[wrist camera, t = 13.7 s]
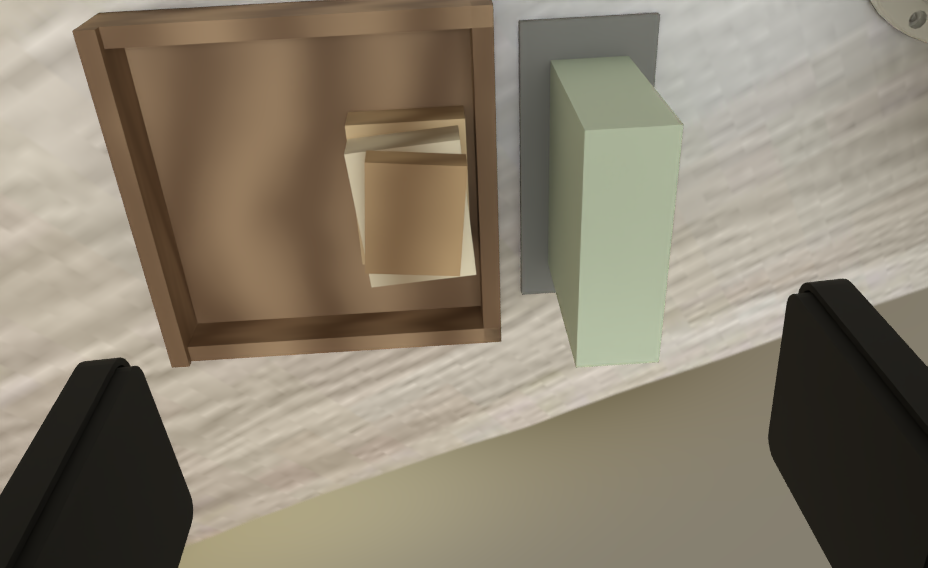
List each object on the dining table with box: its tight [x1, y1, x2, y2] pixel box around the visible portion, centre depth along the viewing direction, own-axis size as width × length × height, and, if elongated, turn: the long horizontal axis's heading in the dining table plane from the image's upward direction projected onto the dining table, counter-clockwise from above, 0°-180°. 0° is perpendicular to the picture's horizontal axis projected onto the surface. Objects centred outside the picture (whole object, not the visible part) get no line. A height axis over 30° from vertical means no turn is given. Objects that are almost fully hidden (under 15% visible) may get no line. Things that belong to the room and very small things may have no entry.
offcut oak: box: [345, 105, 470, 265], centre depth 43 cm, size 6×8×2 cm
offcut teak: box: [364, 150, 468, 276], centre depth 39 cm, size 5×6×2 cm
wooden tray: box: [72, 0, 501, 367], centre depth 43 cm, size 19×19×4 cm
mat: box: [519, 13, 660, 295], centre depth 44 cm, size 7×16×1 cm, turn 3°
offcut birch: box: [344, 125, 476, 287], centre depth 41 cm, size 6×8×2 cm
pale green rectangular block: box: [548, 56, 683, 368], centre depth 40 cm, size 4×12×10 cm, turn 3°
